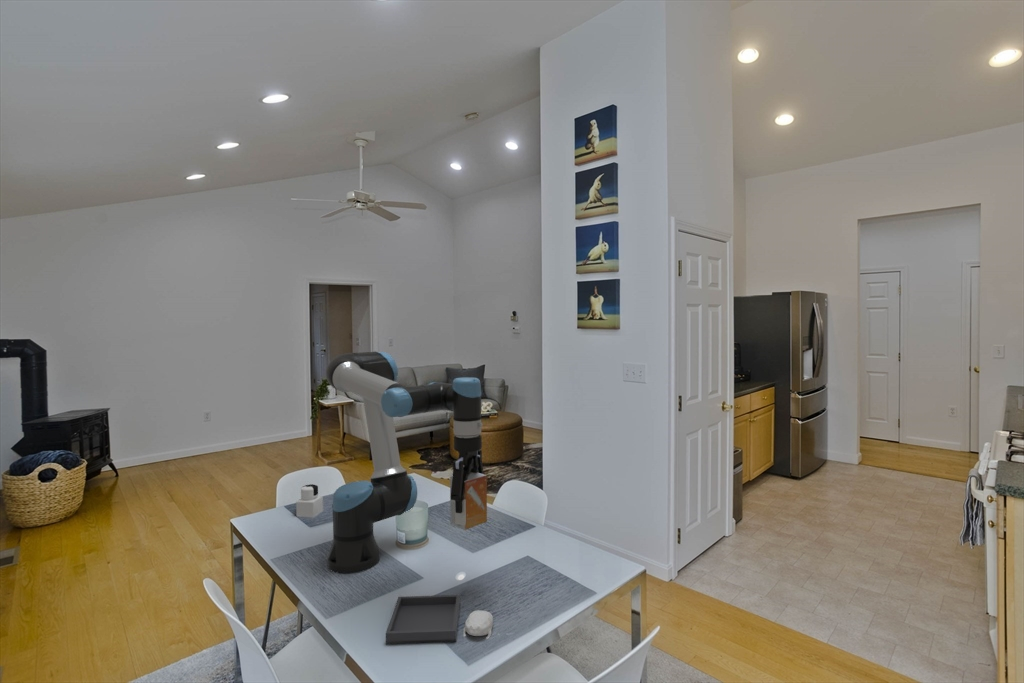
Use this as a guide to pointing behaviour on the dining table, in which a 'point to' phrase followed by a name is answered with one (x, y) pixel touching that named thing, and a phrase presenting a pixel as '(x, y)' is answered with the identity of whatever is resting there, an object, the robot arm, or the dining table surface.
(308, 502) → the medicine bottle
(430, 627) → the holder
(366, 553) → the robot arm
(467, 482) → the small box
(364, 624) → the dining table surface
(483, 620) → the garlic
